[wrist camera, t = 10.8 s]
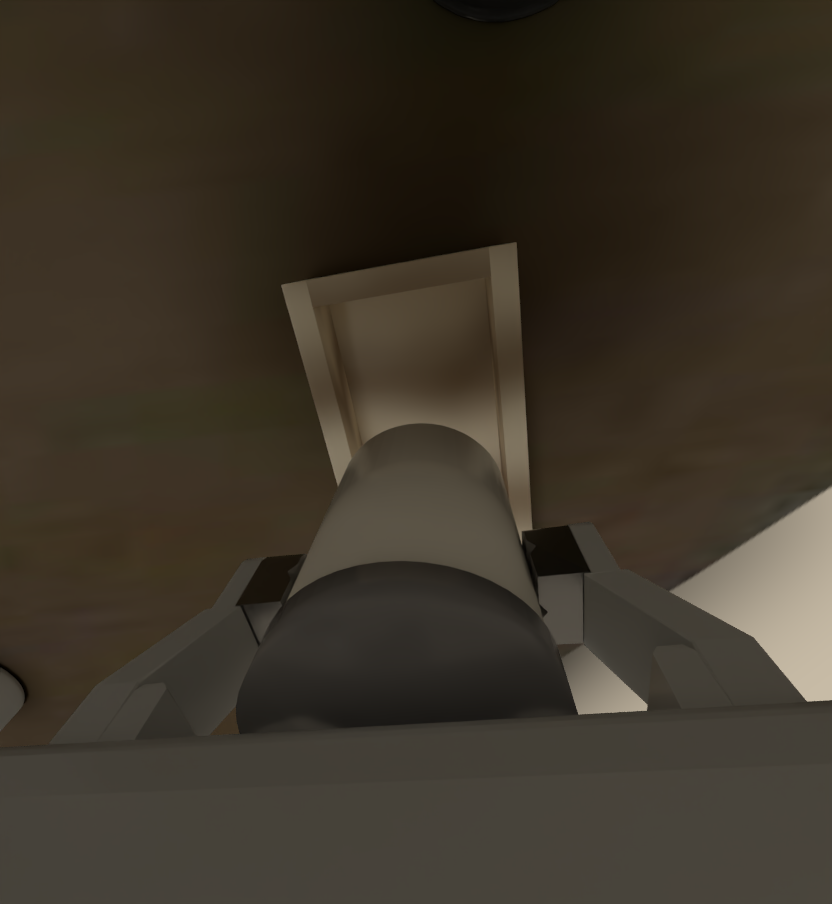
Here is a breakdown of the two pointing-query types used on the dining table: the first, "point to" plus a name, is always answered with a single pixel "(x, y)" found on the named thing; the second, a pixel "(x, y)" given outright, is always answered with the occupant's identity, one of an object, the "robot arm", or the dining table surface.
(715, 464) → the dining table surface
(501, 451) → the wooden tray
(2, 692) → the bath foam
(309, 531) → the dining table surface
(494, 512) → the cream jar
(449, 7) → the milk frother
